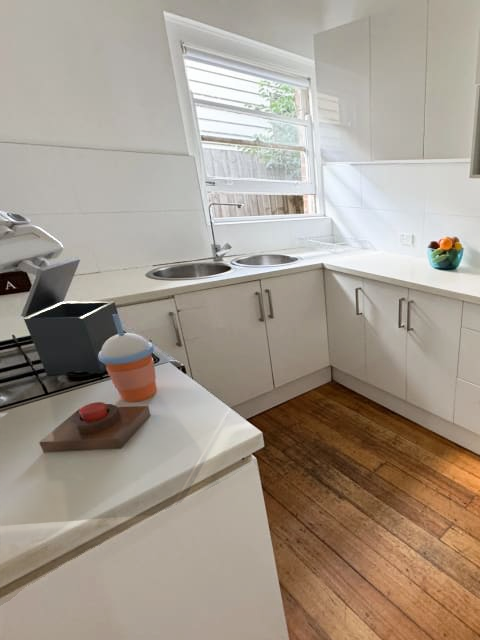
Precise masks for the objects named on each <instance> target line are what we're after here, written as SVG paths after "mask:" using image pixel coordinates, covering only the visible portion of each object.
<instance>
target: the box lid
mask: <svg viewBox="0 0 480 640" xmlns="http://www.w3.org/2000/svg"><path fill="white" fill-rule="evenodd" d="M80 262H81V258H79V257H74V258H70V259H67V260H63V261H60V262H59V261H58V262H56V263H53V264H50V265H49V266H46V267H42V268H39V269H38V271H37V274H36V275H34V276H35V277H34V279H33V282H32V285H31V287H30V289H29V292H28V295H27V298H26V301H25V303H24V306H23V308H22V311H21V313H20V316H21V317H22V318H27V317H29V316H31V315H34V314H36V313H38V312H41V311H43V310H46V309H48V308H50V307H53V306H55V305H57V304H60V303H62V302H65V299H66V297H67V294H68V291H69V289H70V286H71V284H72V281H73V279H74V277H75V274H76V272H77V269H78V267H79V264H80Z"/></svg>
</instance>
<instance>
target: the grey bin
mask: <svg viewBox="0 0 480 640" xmlns="http://www.w3.org/2000/svg"><path fill="white" fill-rule="evenodd" d="M113 314H118V315H119V312H118V309H117V305H116V303H115V301H63V302H60V303H58V304H56V305H53V306H51V307H48V308H46V309H44V310H41V311H39V312H37V313H34V314H32V315H29V316H27V317H23V320H24V324H25V325H26V328H27V331H28V333H29V335H30V338H31V340H32V343H33V345H34V347H35V350H36V352H37V355H38V357H39V360H40V363H41V365H42V367H43V369H44V372H45V375H46V376H68V375H69V376H70V375H75V374H67V373H68V372H71V371H84V372H89V373H90V374H89V375H101V374H103V373H105V372H106V371H107V369H106V365H105V364H104V363H102V362H100V360H99V358H98V354H99V352H100V351H101V350H102V346H103V344H104V343H105V342H106V341H107V340H108V339H109V338H111V337H113V336H115V335H118V331H117V328H116V325H115V321H114V318H113ZM93 373H94V374H93ZM95 373H97V374H95Z"/></svg>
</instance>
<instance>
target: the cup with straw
mask: <svg viewBox="0 0 480 640" xmlns="http://www.w3.org/2000/svg"><path fill="white" fill-rule="evenodd" d="M113 318H114V321H115V325H116V328H117V331H118V335H115V336H113V337H111V338H109V339H108V340H107V341H106V342H105V343H104V344H103V346H102V350H101V351H100V352H99V354H98V358H99V360H100V362H102V363H104V364H105V365H106V369H107V370H106V371H107V373H108V375H109V378H110V380H111V382H112V384H113V386H114V388H115V389H116V390H117V392H118V394H119V396H120V398H121V400H122V401H124V402H127V403H136V402H141V401H145V400H148V399H149V398H151V397H154V396H155V395H156V393H157V391H158V387H157V382H156V381H157V379H156V378H157V375H156V374H157V373H156V369H155V368H156V367H155V361H154V358H153V357H152V354H153V353H154V350H155V348H154V344H152V342H150V341H147V339H146V338H144V336H141V335H139V334H137V333H132V332H124V328H123V325H122V322H121V318H120V315H119V313H118V314H113Z"/></svg>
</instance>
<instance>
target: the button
mask: <svg viewBox="0 0 480 640" xmlns="http://www.w3.org/2000/svg"><path fill="white" fill-rule="evenodd" d="M105 404H106V403H105V402H102V401H96V402H91V403H88V404H85V405H84V406H82V407H80V408H81V409H80V408H79V409H80V410H79V409H78V410H79V413H80V415H81V418H82V420H83V421H92V420H96V419H99V418H101V417H103V416H105V415H106V414H107V413H108V411H107V408H106V405H105Z"/></svg>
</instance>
